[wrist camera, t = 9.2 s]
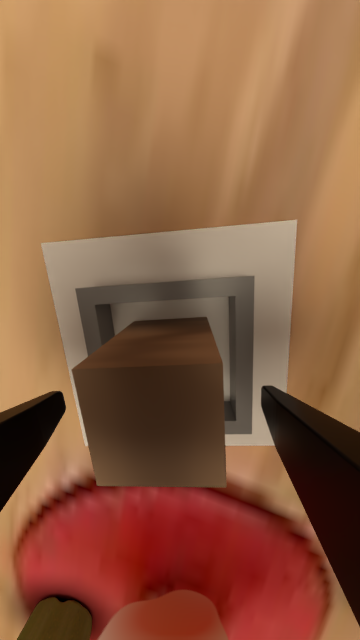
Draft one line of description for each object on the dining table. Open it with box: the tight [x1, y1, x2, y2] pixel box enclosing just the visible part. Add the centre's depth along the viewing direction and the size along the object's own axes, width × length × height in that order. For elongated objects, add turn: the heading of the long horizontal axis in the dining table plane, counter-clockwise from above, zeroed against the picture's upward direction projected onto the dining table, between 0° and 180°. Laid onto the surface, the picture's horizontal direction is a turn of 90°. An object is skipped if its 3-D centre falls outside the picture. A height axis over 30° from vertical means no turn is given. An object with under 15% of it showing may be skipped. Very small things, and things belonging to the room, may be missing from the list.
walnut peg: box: [72, 317, 226, 487], centre depth 10 cm, size 5×5×7 cm
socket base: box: [41, 220, 297, 446], centre depth 13 cm, size 16×16×3 cm
